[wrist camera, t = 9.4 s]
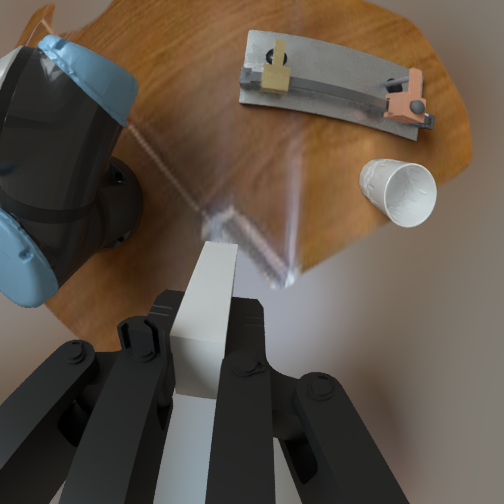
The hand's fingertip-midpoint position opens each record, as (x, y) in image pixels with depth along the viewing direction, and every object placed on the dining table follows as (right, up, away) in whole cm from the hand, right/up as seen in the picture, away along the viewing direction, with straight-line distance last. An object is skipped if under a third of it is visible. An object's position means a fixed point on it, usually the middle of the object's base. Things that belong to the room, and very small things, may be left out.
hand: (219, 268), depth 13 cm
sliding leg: (+20, +22, +17) cm, 34 cm away
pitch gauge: (+13, +24, +18) cm, 33 cm away
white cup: (+20, +11, +24) cm, 33 cm away
